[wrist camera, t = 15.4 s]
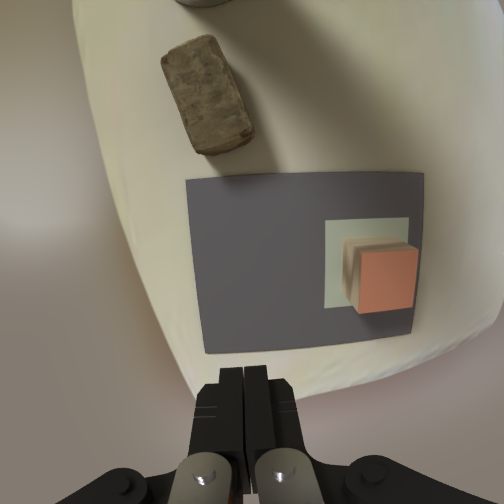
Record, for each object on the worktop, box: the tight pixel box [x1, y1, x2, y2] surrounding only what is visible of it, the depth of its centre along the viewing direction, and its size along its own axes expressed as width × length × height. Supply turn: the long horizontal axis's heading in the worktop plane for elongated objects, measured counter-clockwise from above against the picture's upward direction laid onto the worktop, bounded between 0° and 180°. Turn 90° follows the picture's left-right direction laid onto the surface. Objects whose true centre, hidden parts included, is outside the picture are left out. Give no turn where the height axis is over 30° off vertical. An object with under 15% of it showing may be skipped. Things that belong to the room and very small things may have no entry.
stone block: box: [161, 34, 255, 156], centre depth 28 cm, size 6×12×5 cm, turn 22°
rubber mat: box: [186, 172, 424, 353], centre depth 35 cm, size 20×26×1 cm
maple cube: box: [342, 236, 419, 314], centre depth 32 cm, size 6×6×6 cm
